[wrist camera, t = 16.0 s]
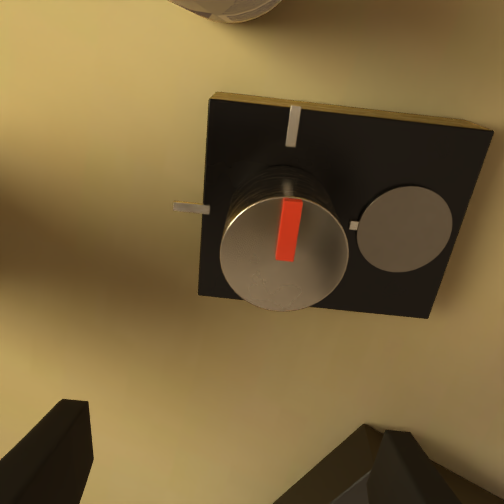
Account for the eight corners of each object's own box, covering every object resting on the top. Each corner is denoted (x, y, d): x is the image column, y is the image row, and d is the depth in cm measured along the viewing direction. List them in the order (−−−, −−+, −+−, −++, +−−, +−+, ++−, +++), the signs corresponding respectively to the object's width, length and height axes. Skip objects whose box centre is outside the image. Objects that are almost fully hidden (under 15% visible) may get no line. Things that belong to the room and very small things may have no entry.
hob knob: (322, 267, 17) (337, 322, 14) (224, 257, 17) (214, 311, 14) (341, 171, 15) (363, 207, 12) (232, 159, 15) (223, 192, 12)
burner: (347, 265, 17) (348, 267, 17) (367, 179, 15) (368, 181, 15) (434, 274, 17) (436, 276, 17) (463, 190, 16) (465, 191, 15)
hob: (181, 268, 20) (170, 297, 18) (187, 85, 16) (175, 91, 14) (410, 292, 20) (429, 323, 18) (466, 117, 17) (498, 128, 14)
